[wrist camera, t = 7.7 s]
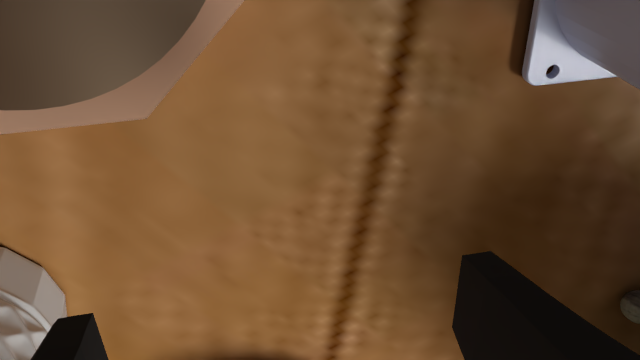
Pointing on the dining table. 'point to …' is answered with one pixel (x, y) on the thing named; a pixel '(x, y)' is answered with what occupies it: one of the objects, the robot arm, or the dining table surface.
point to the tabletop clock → (631, 306)
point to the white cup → (26, 306)
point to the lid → (82, 46)
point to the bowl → (130, 82)
